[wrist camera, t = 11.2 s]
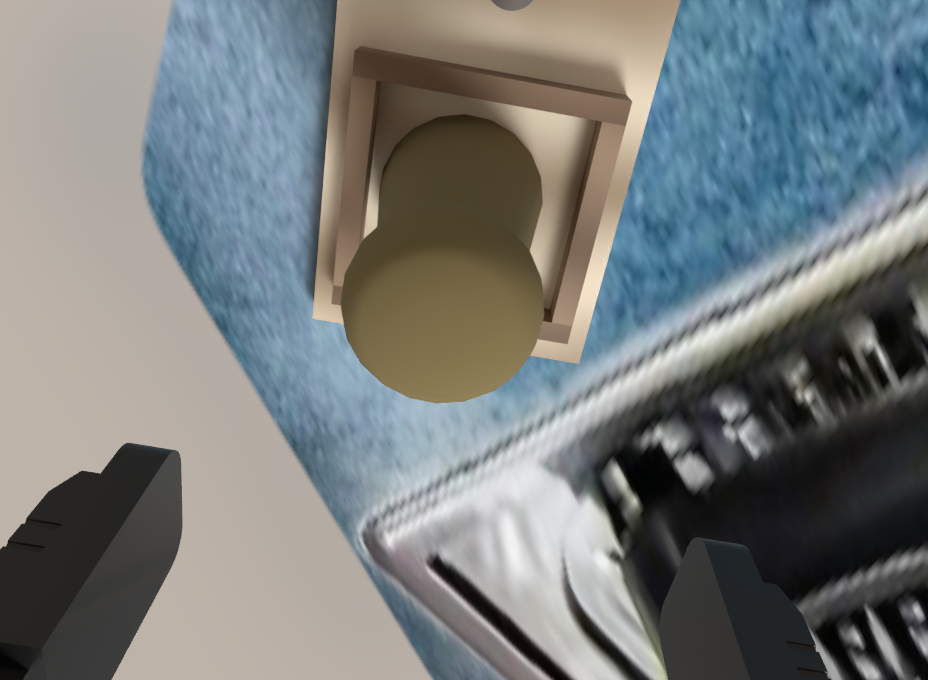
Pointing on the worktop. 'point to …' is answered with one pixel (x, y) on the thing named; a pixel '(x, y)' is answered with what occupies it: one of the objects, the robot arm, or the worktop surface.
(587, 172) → the socket plate
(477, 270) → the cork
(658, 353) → the worktop surface
